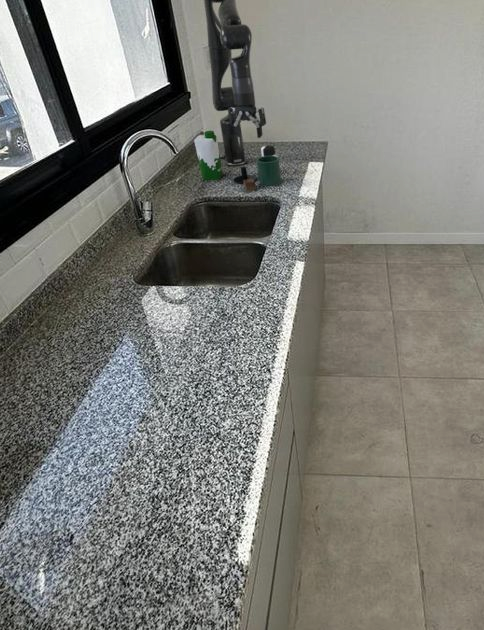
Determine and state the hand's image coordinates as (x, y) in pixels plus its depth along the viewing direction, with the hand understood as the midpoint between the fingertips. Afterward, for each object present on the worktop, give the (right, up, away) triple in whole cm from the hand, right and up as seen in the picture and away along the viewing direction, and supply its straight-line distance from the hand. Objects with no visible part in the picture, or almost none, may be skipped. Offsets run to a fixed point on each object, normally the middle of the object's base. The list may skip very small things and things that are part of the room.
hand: (249, 136), depth 168 cm
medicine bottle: (+4, -4, +31) cm, 31 cm away
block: (-2, -16, +15) cm, 22 cm away
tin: (+6, -12, +21) cm, 24 cm away
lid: (-6, -9, +23) cm, 26 cm away
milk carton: (-21, -7, +28) cm, 36 cm away
